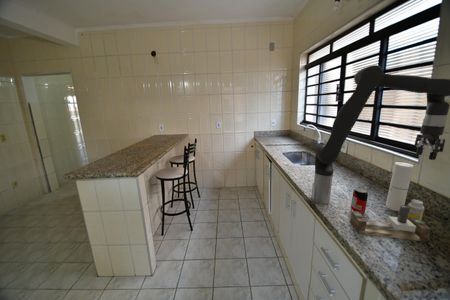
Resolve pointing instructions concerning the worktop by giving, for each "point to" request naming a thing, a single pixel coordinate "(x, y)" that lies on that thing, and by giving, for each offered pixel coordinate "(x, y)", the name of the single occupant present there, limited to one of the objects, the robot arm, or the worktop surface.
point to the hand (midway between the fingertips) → (425, 157)
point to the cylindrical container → (399, 185)
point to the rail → (391, 233)
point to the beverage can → (359, 200)
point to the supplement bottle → (416, 209)
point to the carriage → (402, 220)
